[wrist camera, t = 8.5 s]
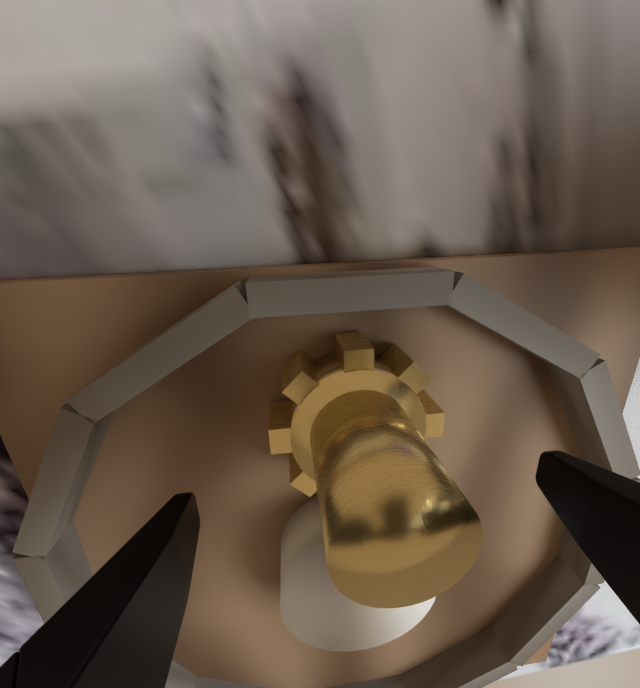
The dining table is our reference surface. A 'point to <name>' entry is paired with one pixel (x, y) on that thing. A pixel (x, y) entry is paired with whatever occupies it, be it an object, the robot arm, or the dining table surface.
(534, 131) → the dining table surface
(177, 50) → the dining table surface
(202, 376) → the carrier
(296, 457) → the gear
